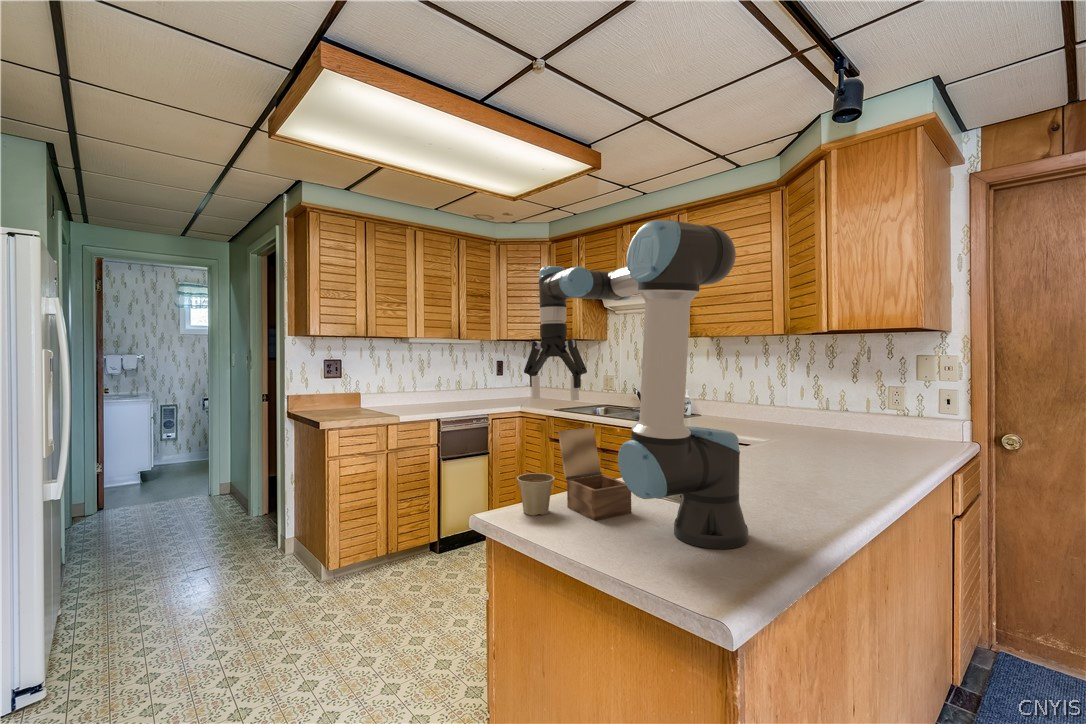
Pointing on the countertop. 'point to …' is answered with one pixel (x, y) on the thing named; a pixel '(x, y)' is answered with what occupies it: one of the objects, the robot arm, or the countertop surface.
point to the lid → (579, 453)
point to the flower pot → (535, 492)
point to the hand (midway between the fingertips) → (554, 399)
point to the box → (598, 497)
